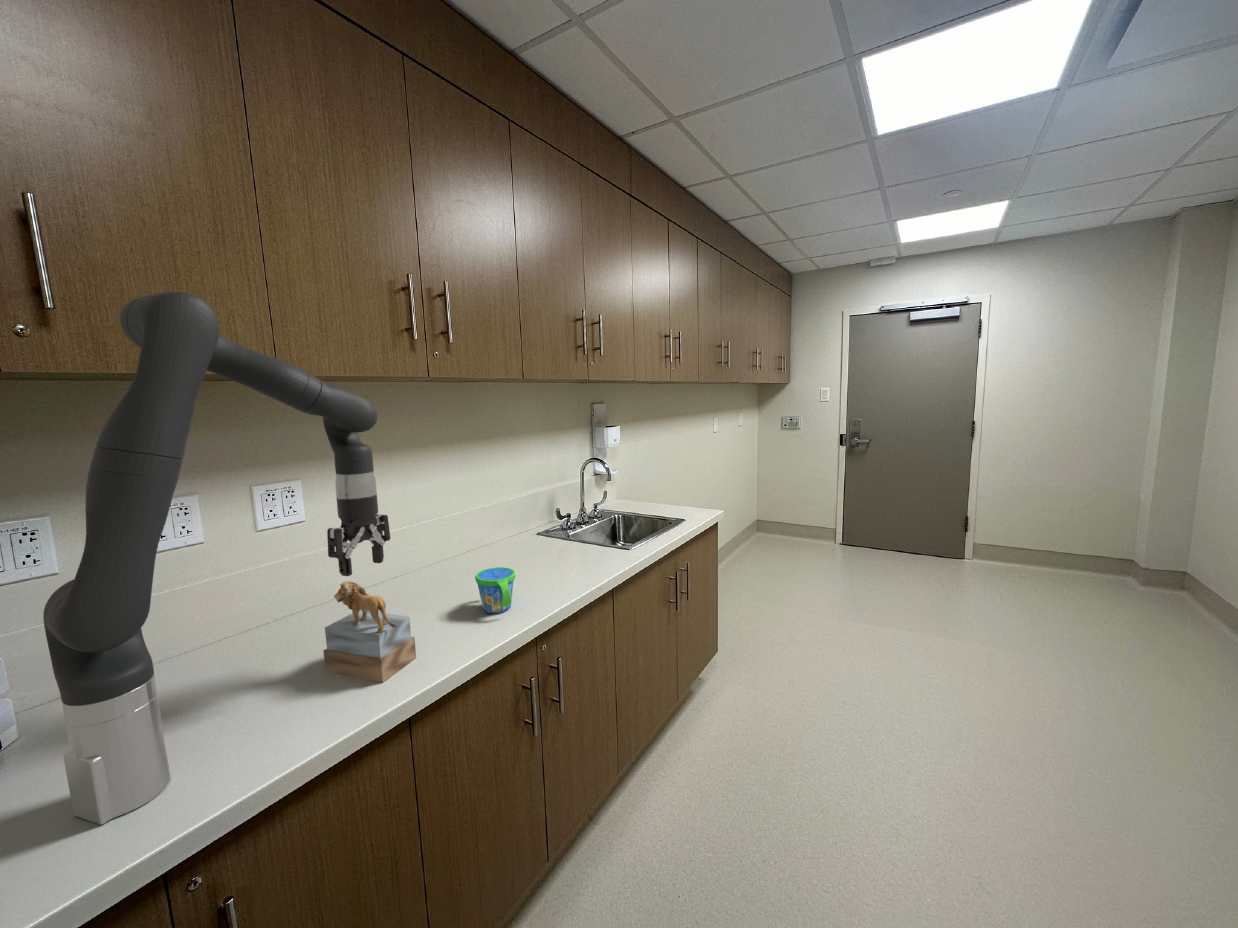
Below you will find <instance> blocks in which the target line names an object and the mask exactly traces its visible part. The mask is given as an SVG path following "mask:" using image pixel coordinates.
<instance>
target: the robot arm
mask: <svg viewBox="0 0 1238 928" xmlns="http://www.w3.org/2000/svg"><path fill="white" fill-rule="evenodd" d="M119 323H120V328H121V329H122V332H123V333H124V335H125V336H126V338H127V339H128V340H129V341H130V342H132V344H133V345H134V346H136V347H138V348H139V349H140V352H139V357H138V361H137V367H136V371H135V374H134V376H133V379H132V381H131V382H130V385H129V387H128V389H127V390H126V392H125V393H124V394H123V396H122V398H121V399H120V401H119V402H118V403H117V404H116V406H115V408H114V409H113V411H112V412H111V414H110V415H109V416H108V418H107V420H106V422H105V423H104V425H103V427H102V428H101V431H100V434H99V436H98V438H97V441H96V444H95V447H94V450H93V454H92V457H91V462H90V464H89V465H90V466H89V469H88V473H87V479H86V486H85V540H84V541H85V542H84V548H83V552H82V556H81V559H80V562H79V565H78V568H77V570H76V573H75V577H74V578H73V579H71V580H69V581H67V582H66V583H64V584H62V585H61V586H59V587H58V588H57V589H56V590H54V592H52V594H51V595H50V597H49V598H48V600H47V601H46V603H45V605H44V609H43V616H42V617H43V618H42V619H43V626H44V631H45V637H46V643H47V647H48V651H49V656H50V662H51V666H52V671H53V675H54V679H55V681H56V684H57V687H58V691H59V695H60V701H61V702H62V704H61V705H62V709H63V715H64V720H65V727H66V731H67V732H66V733H67V738H68V744H69V749H70V750H68V751H65V753H63V755H62V756H63V763H64V767H65V768H64V769H65V774H66V779H67V784H68V790H69V796H70V801H71V806H72V807H71V808H72V811H73V816H74V817H76V818H81V819H84V820H86V821H89V822H92V823H95V824H97V825H104V824H106V823H107V822H108V821H110V820H112V819H114V818H117V817H119V816H123V815H125V814H128V813H130V812H132V811H134V810H136V809H138V808H140V807H142V806H143V805H145V804H147V803H148V802H150V801H152V800H153V799H154V798H156V797H157V796H159V795H160V794H161V792H163V791H164V790H165V789H166V788H167V786H168V785H169V784H170V780H171V773H170V764H169V761H168V753H167V748H166V741H165V735H164V729H163V723H162V714H161V710H160V708H161V707H160V703H159V696H158V691H157V690H158V689H157V683H156V682H157V681H156V676H155V671H154V670H155V668H154V663H153V659H152V656H151V653H150V651H149V650H148V647H147V644H146V642H145V638H144V636H143V630H142V627H143V626H144V625H145V623H146V621H147V619H148V616H149V614H150V609H151V601H152V592H153V591H152V590H153V580H154V571H155V567H156V566H155V565H156V558H157V553H158V548H159V543H160V540H161V537H162V534H163V532H164V528H165V526H166V521H167V518H168V515H169V511H170V508H171V505H172V501H173V497H174V494H175V491H176V487H177V485H178V482H179V478H180V472H181V469H182V465H183V462H184V461H183V460H184V457H185V452H186V447H187V443H188V442H187V441H188V438H189V433H190V429H191V425H192V421H193V416H194V412H195V407H196V403H197V398H198V394H199V392H200V389H201V385H202V383H203V379H204V377H205V374H206V373H207V371H208V372H210V373H212V374H215V375H218V376H220V377H223V378H226V379H228V380H230V381H233V382H235V383H237V384H239V385H243V386H244V387H247V388H249V389H252V390H253V391H256V392H258V393H260V394H263V395H265V396H267V397H268V398H271V399H272V400H274V401H278V402H279V403H281V404H284V405H286V406H287V407H290V408H292V409H294V410H297V411H298V412H301V413H304V414H306V415H310V416H319V417H322V421H323V422H322V423H323V426H324V427H323V428H324V431H325V433H326V437H327V439H328V442H329V445H330V447H331V450H332V452H333V456H334V469H335V470H334V471H335V483H334V484H335V487H334V488H335V496H336V507H337V517H338V518H339V519H340V521H341V522H340V523H341V524H340V526H339V527H329V528H327V531H326V532H327V534H326V535H327V536H326V537H327V538H326V539H327V556H328V557H329V558H330V559H331V558H332V559H337V561H338V570H339V571H338V572H339V573H340V574H341V576H342V577H350V576H352V575H353V569H352V568H353V566H352V558H351V555H352V553H353V551H354V549H356V548H357V547H358V544H361V543H363V542H364V541H369V542H370V544H371V545H372V546H371V555H372V557H371V558H372V562H373V563H374V564H381V563H383V562H384V558H385V554H384V545H385V543H386V542H388V541H390V540H391V531H390V523H389V517H388V515H387V514H378V513H379V504H378V494H377V493H378V492H377V491H378V489H377V481H376V477H375V472H374V471H375V470H374V459H373V458H374V457H373V450H372V447H371V446H369V445H368V444H365V443H364V442H362V441H361V439H360V436H359V433H364V432H368V431H370V430H372V429H373V428H374V427H375V425H376V424H377V422H378V412H377V410H376V408H375V406H374V405H373V404H372V403H371V402H370V401H369V400H368V399H366V398H365V397H363V396H361V395H359V394H356V393H354V392H352V391H349V390H345V389H343V388H340V387H337V386H335V385H331V384H328V383H327V382H325V381H323V380H322V379H320V378H318V377H316V376H314V375H312V374H311V373H309V372H307V371H305V370H303V369H301V368H299V367H298V366H295V365H294V364H291V363H289V362H287V361H284V360H281V359H278V358H276V357H273V356H270V355H268V354H264V353H262V352H259V351H256V350H253V349H251V348H249V347H246V346H243V345H241V344H238V343H236V342H235V341H232V340H230V339H229V338H226V337H224V336H223V335H220V323H219V320H218V316H217V314H216V313H215V311H214V309H213V308H212V307H211V305H209V304H208V302H206V301H205V300H204V299H202V298H201V297H199V296H197V295H195V294H192V293H188V292H186V291H185V292H184V291H163V292H157V293H151V294H145V295H142V296H138V297H137V298H134V299H132V300H130V301H128V302H127V303H126V304H125V305H124V306H123V307H122V309H121V311H120V313H119Z"/></svg>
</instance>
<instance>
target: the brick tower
mask: <svg viewBox="0 0 1238 928" xmlns="http://www.w3.org/2000/svg"><path fill="white" fill-rule="evenodd" d="M362 615H363V613H362V611H361V610H359V619H360V623H359V624H358V625H355V626H353V625H352V623H353V622H355V618H354V616H353V612H352V613H349V614H347V615H346V616H344V617H342V618H339V620H337V621H335V622H332V623H331V624H329V625H326V626H324V633H325V644H326V648H325V649H323V662H324V670H325V671H324V672H325V674H332V675H335V676H336V675H337V676H342V677H346V678H347V677H349V678H355V679H359V680H366V681H370V682H371V681H372V682H378V683H382V684H383V683H385V682H386V681H387V680H389V679H390V678H391V677H393V676H394V675H395V674H397V673H398V672H399V671H400V670H402V669H404V668H405V667H407V665H409V664H410V663H412V662H413V661H415V660H416V659H417V650H416V649H417V648H416V641H415V640H416V638H415V636H412V633H411V632H412V631H411V620H410V615H408V616H407V615H402V614H393V613H386V615H387V618H388V620H389V621H390V622H391V623H393V624H395V625H397V627H391V626H390V625H389V624H388V623H387V624H383V626H384V631H382V632H378V628H380V627H379V625H378V624H377V623H376V622H375V621H374V619H373V618H372V616H371V613H370V612H367V617H368V618H367V619H366V620H361V618H362ZM378 615H379V618H380V620H381V621H383V617H382V614H381V612H378Z"/></svg>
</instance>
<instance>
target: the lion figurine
mask: <svg viewBox="0 0 1238 928" xmlns="http://www.w3.org/2000/svg"><path fill="white" fill-rule="evenodd" d="M339 585H340V588H339V589H338V590H337V592H336V593H335V594H334V595H333V598H334V599H335V600H336V602H337V603H341V602H342V604H343V605H345V606H347V608H348V609H349V610H351V611H352V613H353V616H354V618H355V622H353V623H352V625H353V626H355V625H358V624H359V623H360V619H359V610H361V611H362V613H363V615H362V618H361V620H366V619H367V618H368V617H367V612H370V613H371V616H372V618H373V619H374V621H375V622H376V623H377V624H378V625H379V627H380V628H378V632H382V631H384V626H383V624H387V623H388V624H389V625H390V626H391V627H397V625H395V624H393V623H391V622H390V621H389V620H388V618H387V615H386V614H387V612H386V607H387V605H386V602H385V599H384V598H383V597H382V596H381V595H370V594H367V592H366V589H365V588H364V587H362V585H361V586H360V584H357V583H356V582H354V581H348V580H347V581H344V582H341V583H340V584H339ZM378 613H381V614H382V617H383V621H381V620H380V618H379V615H378Z"/></svg>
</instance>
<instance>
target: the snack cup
mask: <svg viewBox="0 0 1238 928" xmlns="http://www.w3.org/2000/svg"><path fill="white" fill-rule="evenodd" d="M516 576H517V575H516V571H515V569H512V568H511V567H510V568H509V567H505V566H503V567H501V566H499V567H498V566H496V567H490V568H486V569H482V570H480V571H478V572H477V573H476V574H475V576H474V578H475V582H476V584H477V587H478V592H479V597H480V601H481V602H480V603H481V606H482V609H483V611H485V612H486V613H488V614H500V613H504V612H506V611H508V610H509V609H510V608H512V600H513V592H514V591H513V590H514V581H515V579H516Z"/></svg>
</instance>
